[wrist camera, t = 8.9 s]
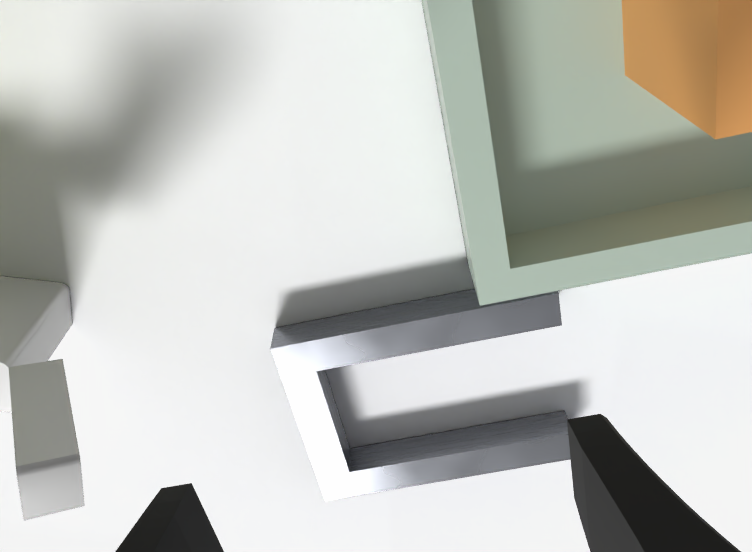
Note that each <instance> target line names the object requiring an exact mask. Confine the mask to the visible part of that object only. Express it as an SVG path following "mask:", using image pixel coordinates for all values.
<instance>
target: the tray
mask: <svg viewBox="0 0 752 552" xmlns="http://www.w3.org/2000/svg"><path fill="white" fill-rule="evenodd" d="M422 6H423V11H424V17H425V23H426V28H427V34H428V40H429V45H430V51H431V57H432V62H433V68H434V74H435V79H436V85H437V91H438V96H439V102H440V108H441V113H442V119H443V125H444V130H445V136H446V142H447V147H448V153H449V159H450V164H451V170H452V176H453V181H454V187H455V193H456V198H457V204H458V210H459V215H460V221H461V227H462V232H463V238H464V244H465V249H466V255H467V261H468V265H469V269H470V272H471V276H472V279H473V283H474V287H475V290H476V294H477V297H478V301H479V305H480V306H481V305H486V304H491V303H497V302H502V301H507V300H512V299H517V298H522V297H528V296H533V295H538V294H543V293H548V292H553V291H559V290H564V289H569V288H574V287H579V286H585V285H590V284H595V283H600V282H605V281H610V280H616V279H621V278H626V277H631V276H636V275H642V274H647V273H652V272H657V271H662V270H667V269H673V268H678V267H683V266H688V265H693V264H699V263H704V262H709V261H714V260H719V259H724V258H730V257H735V256H740V255H745V254H750V253H752V132H749V133H744V134H740V135H735V136H730V137H725V138H720V139H716V140H715V139H714V138H713V137H711V136H710V135H708V134H707V133H706V132H704V131H703V130H701V129H700V128H699V127H697V126H696V125H694V124H693V123H691V122H690V121H689V120H687V119H686V118H684V117H683V116H682V115H680V114H679V113H677V112H676V111H675V110H673V109H672V108H670V107H669V106H668V105H666V104H665V103H663V102H662V101H660V100H659V99H658V98H656V97H655V96H653V95H652V94H651V93H649V92H648V91H646V90H645V89H644V88H642V87H641V86H639V85H638V84H637V83H635V82H634V81H632V80H631V79H629V78H628V77H627V76H625V65H624V42H623V19H622V0H422Z"/></svg>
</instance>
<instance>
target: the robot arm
mask: <svg viewBox="0 0 752 552" xmlns="http://www.w3.org/2000/svg"><path fill="white" fill-rule="evenodd" d="M567 426H568V437H569V447H570V457H571V468H572V478H573V488H574V498H575V502H576V505H577V508H578V512H579V515H580V519H581V522H582V525H583V529H584V532H585V535H586V539H587V542H588V545H589V548H590V551H591V552H741V551H740V550H738V549H737V548H736V547H735V546H733V545H732V544H731V543H730V542H729V541H728V540H726V539H725V538H724V537H723V536H722V535H721V534H719V533H718V532H717V531H716V530H715V529H714V528H713V527H711V526H710V525H709V524H708V523H707V522H706V521H705V520H704V519H702V518H701V517H700V516H699V515H698V514H697V513H696V512H695V511H694V510H693V509H691V508H690V507H689V506H688V505H687V504H686V503H685V502H684V501H683V500H682V499H681V498H680V497H679V496H678V495H677V494H676V493H675V492H674V491H673V490H672V489H671V488H670V487H669V486H668V485H667V484H666V483H665V482H664V481H663V480H662V479H661V478H660V477H659V476H658V475H657V474H656V473H655V472H654V471H653V470H652V469H651V468H650V467H649V466H648V465H647V464H646V463H645V462H644V461H643V460H642V459H641V457H640V456H639V455H638V454H637V453H636V452H635V451H634V450H633V449H632V448H631V446H630V445H629V444H628V443H627V442H626V441H625V440H624V438H623V437H622V436H621V435H620V434H619V433H618V431H617V430H616V429H615V428H614V427H613V425H612V424H611V423H610V422H609V420H608V419H607V418H606V417H604V416H603V415H601V414H597V415H591V416H585V417H579V418H574V419H568V420H567ZM116 552H224V551H223V549H222V547H221V545H220V543H219V541H218V538H217V536H216V534H215V532H214V530H213V528H212V526H211V524H210V521H209V519H208V517H207V515H206V513H205V511H204V509H203V507H202V505H201V502H200V500H199V498H198V496H197V494H196V492H195V490H194V488H193V486H192V483H190V484H185V485H179V486H173V487H167V488H161V490H160V491H159V492H158V494H157V495H156V496H155V498H154V499H153V500H152V502H151V503H150V505H149V506H148V507H147V509H146V510H145V512H144V513H143V514H142V516H141V517H140V518H139V520H138V521H137V523H136V524H135V525H134V527H133V528H132V530H131V531H130V532H129V534H128V535H127V536H126V538H125V539H124V541H123V542H122V543H121V545H120V546H119V548H118V549H117V550H116Z"/></svg>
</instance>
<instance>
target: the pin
mask: <svg viewBox="0 0 752 552" xmlns="http://www.w3.org/2000/svg"><path fill="white" fill-rule="evenodd" d="M622 19H623V42H624V65H625V76H627V77H628V78H629V79H631V80H632V81H634V82H635V83H637V84H638V85H639V86H641V87H642V88H644V89H645V90H646V91H648V92H649V93H651V94H652V95H653V96H655V97H656V98H658V99H659V100H660V101H662V102H663V103H665V104H666V105H668V106H669V107H670V108H672V109H673V110H675V111H676V112H677V113H679V114H680V115H682V116H683V117H684V118H686V119H687V120H689V121H690V122H691V123H693V124H694V125H696V126H697V127H699V128H700V129H701V130H703V131H704V132H706V133H707V134H708V135H710V136H711V137H713V138H714V139H715V140H716V139H720V138H725V137H730V136H735V135H740V134H744V133H749V132H752V0H622Z"/></svg>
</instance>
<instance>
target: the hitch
mask: <svg viewBox="0 0 752 552" xmlns="http://www.w3.org/2000/svg"><path fill="white" fill-rule="evenodd" d="M560 325H562V323H561V313H560V304H559V294H558V291H553V292H548V293H543V294H538V295H533V296H528V297H522V298H517V299H512V300H507V301H502V302H497V303H491V304H486V305H481V306H480V305H479V301H478V297H477V294H476V290H475V289H472V290H467V291H461V292H456V293H451V294H446V295H441V296H436V297H431V298H426V299H420V300H415V301H410V302H405V303H400V304H395V305H390V306H385V307H380V308H374V309H369V310H364V311H359V312H354V313H349V314H344V315H339V316H334V317H328V318H323V319H318V320H313V321H308V322H303V323H298V324H293V325H288V326H282V327H277V328H275V329H274V333H273V338H272V343H271V348H270V349H271V352H272V355H273V358H274V360H275V363H276V366H277V369H278V371H279V374H280V377H281V380H282V382H283V385H284V388H285V391H286V394H287V396H288V399H289V402H290V405H291V407H292V410H293V413H294V416H295V419H296V421H297V424H298V427H299V430H300V432H301V435H302V438H303V441H304V443H305V446H306V449H307V452H308V455H309V457H310V460H311V463H312V466H313V468H314V471H315V474H316V477H317V479H318V482H319V485H320V488H321V491H322V493H323V496H324V499H325V501H328V500H334V499H340V498H346V497H352V496H358V495H363V494H369V493H375V492H381V491H387V490H393V489H399V488H405V487H410V486H416V485H422V484H428V483H434V482H440V481H446V480H452V479H457V478H463V477H469V476H475V475H481V474H487V473H493V472H499V471H504V470H510V469H516V468H522V467H528V466H534V465H540V464H546V463H551V462H557V461H563V460H569V459H571V457H570V447H569V437H568V426H567V420H568V418H567V416H566V413H565V411H559V412H554V413H548V414H542V415H537V416H531V417H526V418H520V419H514V420H509V421H503V422H497V423H492V424H486V425H480V426H475V427H469V428H463V429H458V430H452V431H446V432H441V433H435V434H429V435H424V436H418V437H412V438H407V439H401V440H395V441H390V442H384V443H379V444H373V445H367V446H362V447H356V448H350V447H349V444H348V441H347V438H346V435H345V431H344V428H343V425H342V422H341V419H340V416H339V413H338V410H337V406H336V403H335V400H334V397H333V394H332V391H331V388H330V385H329V381H328V378H327V375H326V372H325V370H326V369H332V368H337V367H342V366H348V365H353V364H358V363H364V362H369V361H374V360H380V359H385V358H390V357H395V356H401V355H406V354H411V353H417V352H422V351H427V350H433V349H438V348H443V347H449V346H454V345H459V344H464V343H470V342H475V341H480V340H486V339H491V338H496V337H502V336H507V335H512V334H518V333H523V332H528V331H534V330H539V329H544V328H549V327H555V326H560Z"/></svg>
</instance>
